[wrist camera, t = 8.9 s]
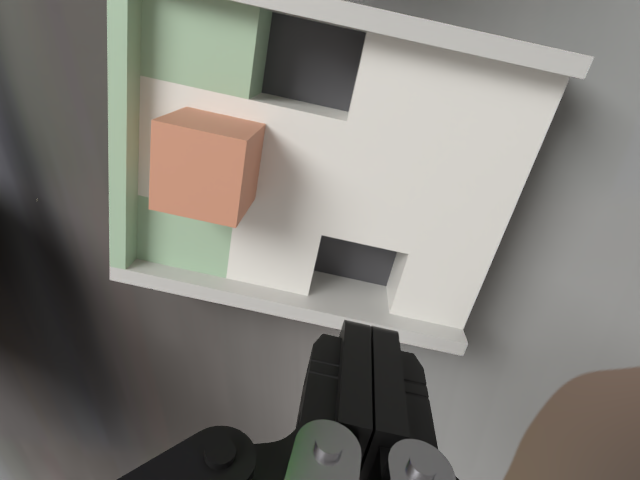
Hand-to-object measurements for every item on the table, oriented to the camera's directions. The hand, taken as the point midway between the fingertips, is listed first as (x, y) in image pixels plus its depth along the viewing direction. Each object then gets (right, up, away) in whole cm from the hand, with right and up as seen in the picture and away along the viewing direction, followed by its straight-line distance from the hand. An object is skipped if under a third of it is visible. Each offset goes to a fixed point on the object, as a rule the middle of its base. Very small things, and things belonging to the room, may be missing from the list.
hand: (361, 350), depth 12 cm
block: (-7, +8, +13) cm, 17 cm away
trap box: (-1, +8, +17) cm, 19 cm away
